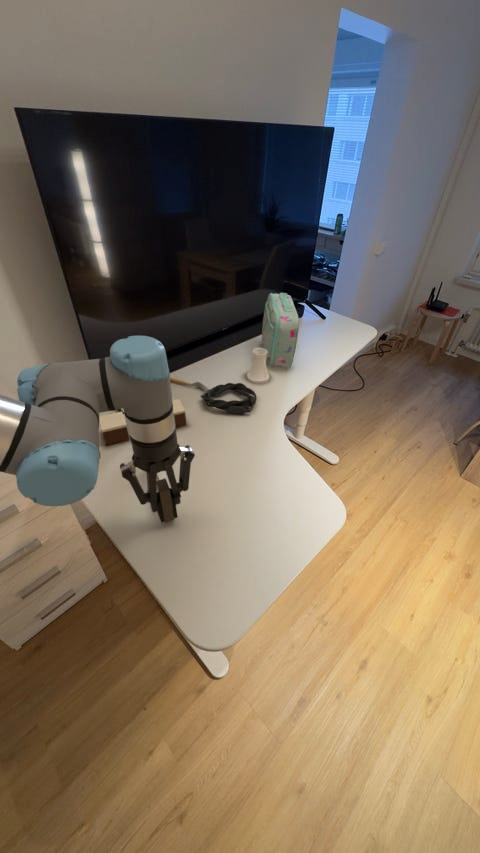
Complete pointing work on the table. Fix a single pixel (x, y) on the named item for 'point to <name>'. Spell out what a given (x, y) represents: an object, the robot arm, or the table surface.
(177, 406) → the cake slice
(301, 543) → the table surface
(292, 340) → the lunch box
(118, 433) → the cake
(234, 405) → the cable
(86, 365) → the robot arm
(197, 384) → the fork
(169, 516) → the long brown beam
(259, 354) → the vase
